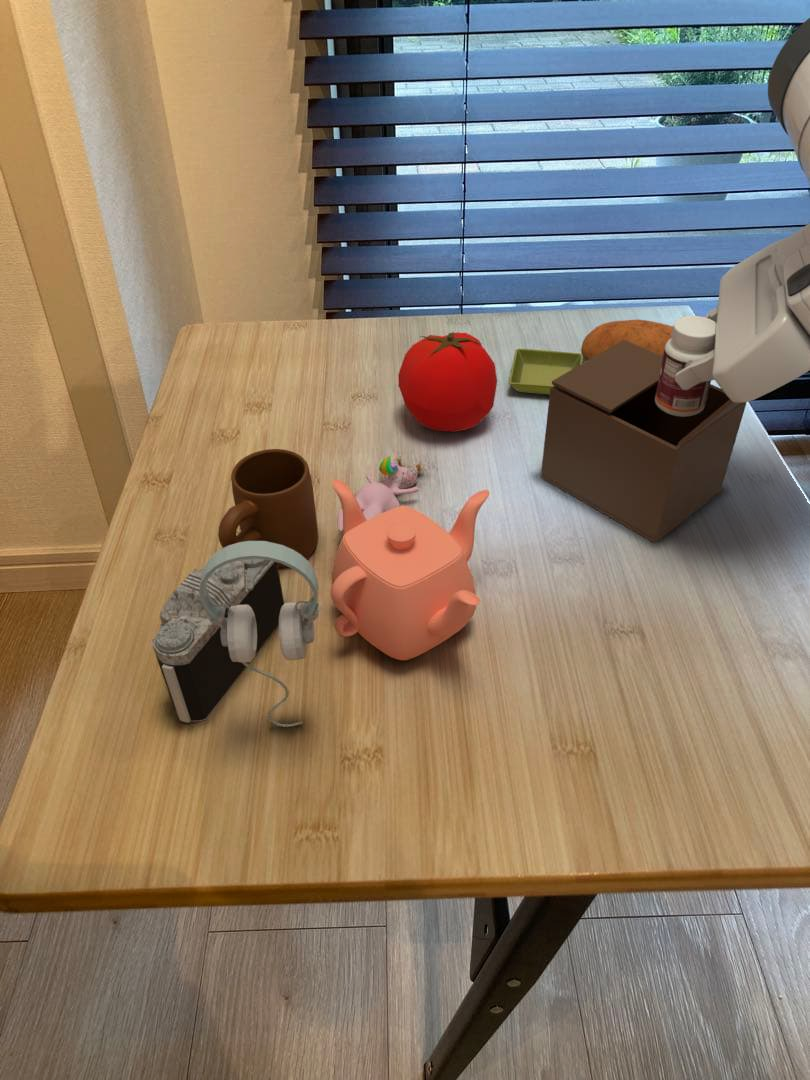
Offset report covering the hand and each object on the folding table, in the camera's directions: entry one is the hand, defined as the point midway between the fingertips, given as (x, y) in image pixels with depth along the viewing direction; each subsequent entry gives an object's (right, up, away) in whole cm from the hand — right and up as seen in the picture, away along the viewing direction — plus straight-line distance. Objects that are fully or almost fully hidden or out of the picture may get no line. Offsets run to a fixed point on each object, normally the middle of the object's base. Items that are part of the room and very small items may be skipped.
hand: (681, 364), depth 79 cm
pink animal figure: (-28, -13, +11) cm, 33 cm away
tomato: (-21, -2, +23) cm, 31 cm away
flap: (+4, -3, -3) cm, 6 cm away
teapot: (-25, -23, -1) cm, 34 cm away
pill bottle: (+1, -3, +3) cm, 5 cm away
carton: (-2, -10, +13) cm, 16 cm away
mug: (-39, -18, +5) cm, 44 cm away
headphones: (-36, -32, -10) cm, 49 cm away
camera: (-43, -27, -4) cm, 50 cm away
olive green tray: (-8, +4, +29) cm, 30 cm away
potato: (+3, +6, +31) cm, 31 cm away
